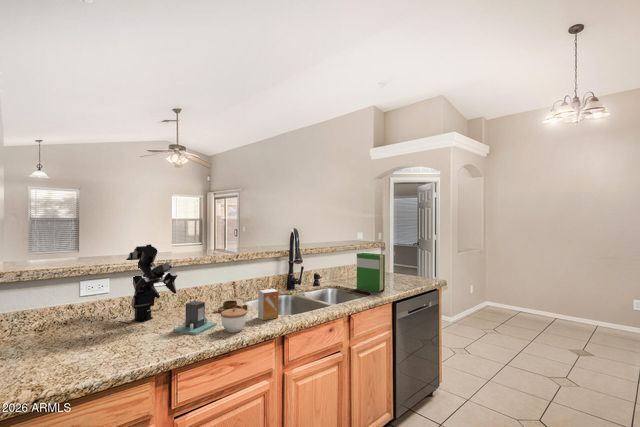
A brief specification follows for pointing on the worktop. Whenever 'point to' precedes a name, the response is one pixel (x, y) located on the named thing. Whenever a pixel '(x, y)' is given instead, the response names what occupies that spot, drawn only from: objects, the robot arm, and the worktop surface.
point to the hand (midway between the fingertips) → (167, 295)
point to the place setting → (230, 306)
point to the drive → (195, 314)
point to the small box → (268, 304)
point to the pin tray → (193, 330)
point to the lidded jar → (233, 319)
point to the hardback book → (371, 272)
